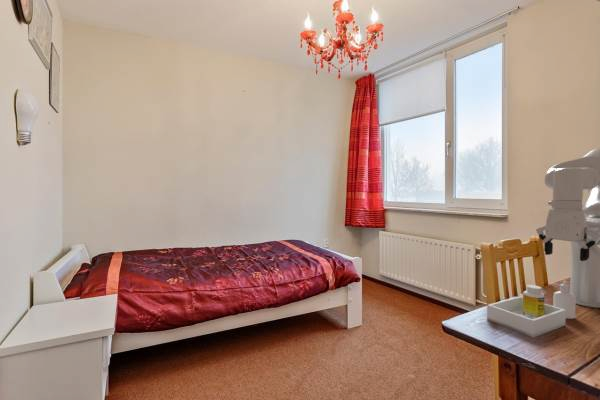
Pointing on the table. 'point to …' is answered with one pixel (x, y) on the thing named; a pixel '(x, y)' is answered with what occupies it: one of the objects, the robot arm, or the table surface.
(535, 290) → the supplement bottle
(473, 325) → the table surface
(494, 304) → the box
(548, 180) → the robot arm
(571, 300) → the eye dropper bottle
